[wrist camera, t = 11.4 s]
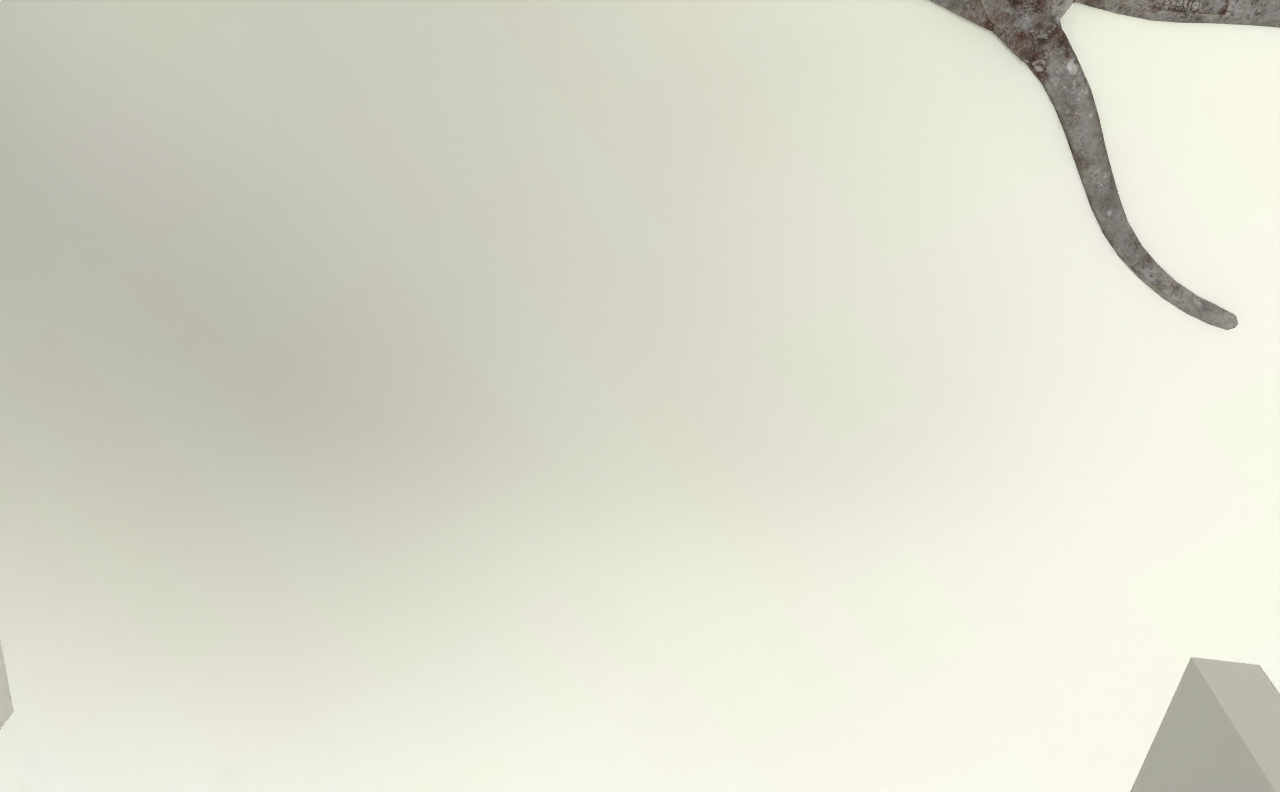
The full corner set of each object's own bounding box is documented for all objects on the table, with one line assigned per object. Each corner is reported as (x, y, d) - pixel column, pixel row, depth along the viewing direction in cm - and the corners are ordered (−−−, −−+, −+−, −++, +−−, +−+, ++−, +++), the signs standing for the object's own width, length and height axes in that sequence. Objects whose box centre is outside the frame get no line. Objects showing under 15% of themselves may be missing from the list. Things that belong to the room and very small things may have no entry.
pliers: (1275, 355, 36) (729, 113, 34) (1263, 344, 37) (729, 107, 35) (1485, 81, 32) (882, -219, 30) (1466, 76, 33) (877, -217, 30)
